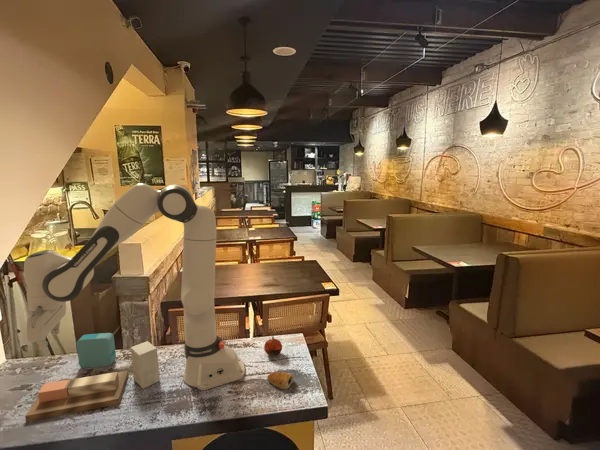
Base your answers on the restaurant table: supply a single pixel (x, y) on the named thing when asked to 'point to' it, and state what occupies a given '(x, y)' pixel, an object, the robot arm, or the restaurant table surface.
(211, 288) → the robot arm
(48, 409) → the board
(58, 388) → the orange rectangular block
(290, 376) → the pastry
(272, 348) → the pomegranate
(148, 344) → the small box
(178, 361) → the restaurant table surface
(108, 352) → the data package
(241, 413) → the restaurant table surface
